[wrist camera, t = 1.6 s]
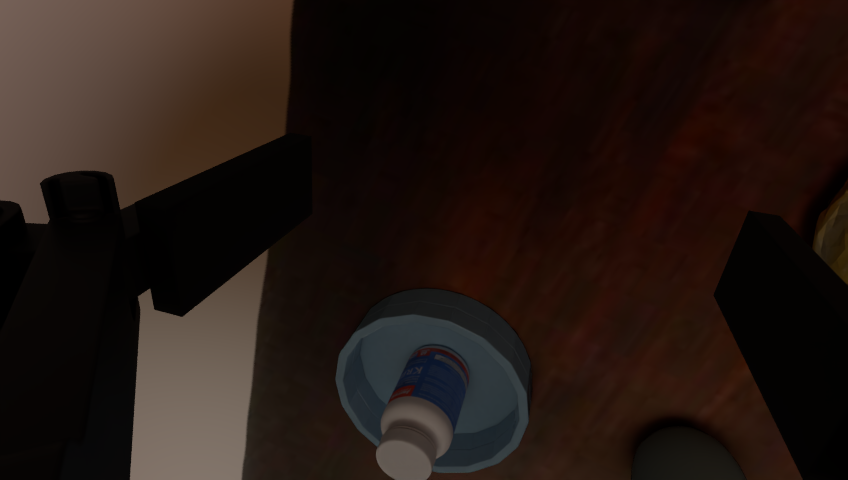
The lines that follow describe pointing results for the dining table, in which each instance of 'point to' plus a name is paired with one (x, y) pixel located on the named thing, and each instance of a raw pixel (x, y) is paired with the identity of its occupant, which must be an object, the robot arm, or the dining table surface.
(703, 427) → the dining table surface
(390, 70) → the dining table surface
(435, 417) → the pill bottle
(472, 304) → the shallow blue dish
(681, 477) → the cup
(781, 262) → the robot arm
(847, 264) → the bread
